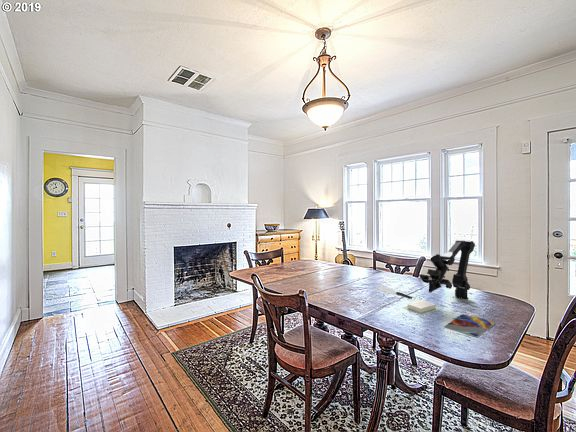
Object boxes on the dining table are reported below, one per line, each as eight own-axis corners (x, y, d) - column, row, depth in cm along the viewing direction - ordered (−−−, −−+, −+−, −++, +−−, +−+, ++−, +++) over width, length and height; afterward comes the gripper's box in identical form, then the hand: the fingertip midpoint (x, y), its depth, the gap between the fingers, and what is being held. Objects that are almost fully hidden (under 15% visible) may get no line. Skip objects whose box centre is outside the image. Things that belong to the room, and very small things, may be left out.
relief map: (477, 339, 132) (477, 335, 132) (443, 328, 144) (443, 324, 144) (495, 324, 148) (495, 320, 148) (463, 316, 160) (463, 312, 160)
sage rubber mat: (422, 302, 182) (422, 301, 182) (443, 309, 169) (443, 308, 169) (401, 308, 172) (401, 307, 172) (422, 315, 160) (422, 315, 160)
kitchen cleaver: (372, 287, 215) (383, 284, 219) (373, 289, 216) (383, 286, 219) (402, 299, 186) (414, 296, 190) (402, 302, 186) (414, 298, 190)
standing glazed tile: (422, 300, 177) (407, 304, 171) (435, 304, 169) (420, 308, 163) (422, 304, 177) (407, 308, 171) (435, 308, 170) (420, 313, 163)
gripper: (421, 261, 184) (410, 281, 179) (449, 267, 167) (438, 288, 163) (428, 272, 188) (418, 291, 183) (457, 278, 172) (446, 299, 167)
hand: (429, 292), depth 174 cm, fingers closed
